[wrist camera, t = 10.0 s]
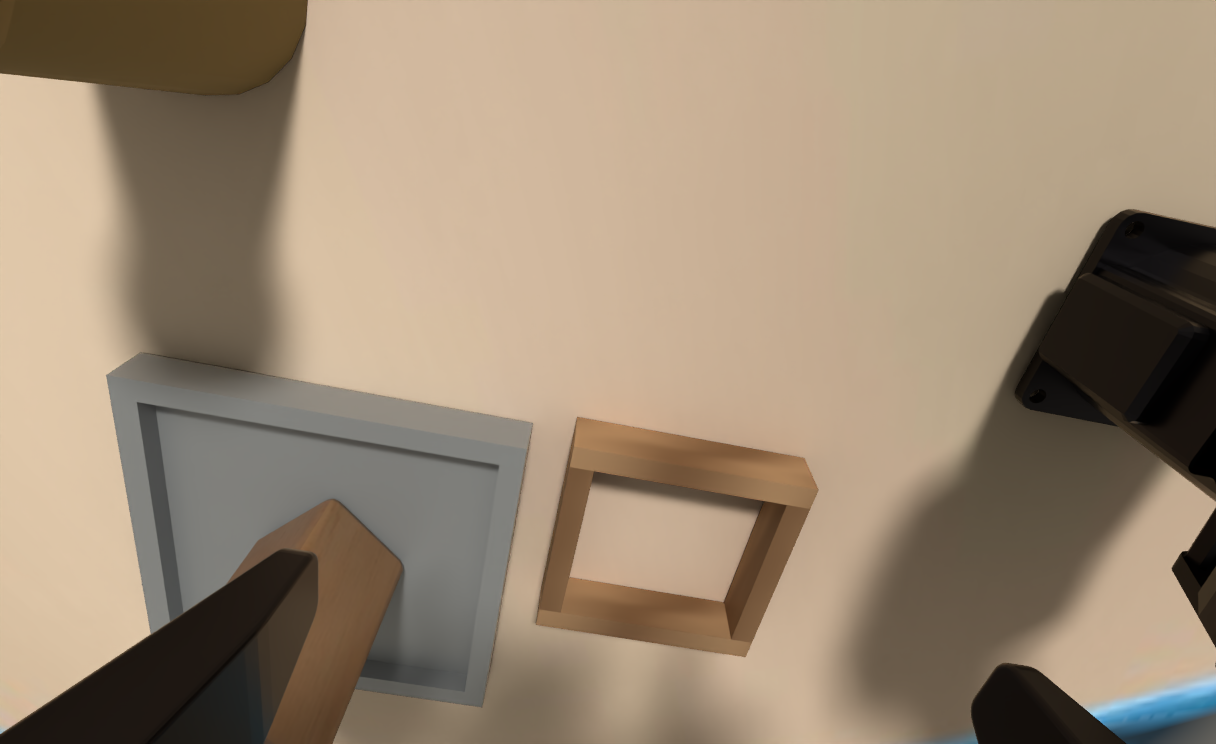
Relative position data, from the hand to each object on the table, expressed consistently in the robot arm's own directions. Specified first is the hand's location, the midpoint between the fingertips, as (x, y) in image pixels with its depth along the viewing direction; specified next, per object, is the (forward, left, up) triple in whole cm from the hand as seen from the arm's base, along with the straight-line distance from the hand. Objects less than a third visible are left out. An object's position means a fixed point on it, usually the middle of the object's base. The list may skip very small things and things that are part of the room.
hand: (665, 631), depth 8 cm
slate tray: (+9, +12, -13) cm, 20 cm away
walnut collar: (-3, +9, -13) cm, 16 cm away
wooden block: (+9, +12, -12) cm, 19 cm away
